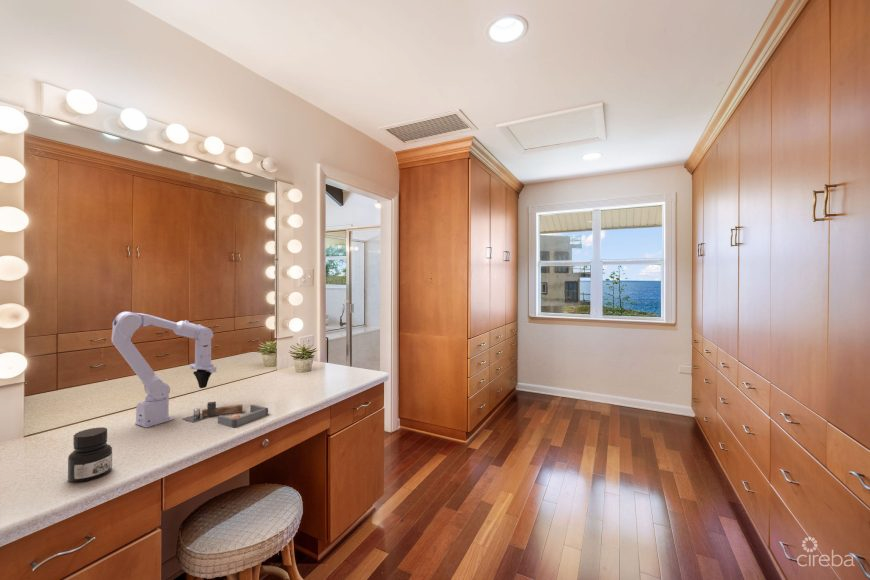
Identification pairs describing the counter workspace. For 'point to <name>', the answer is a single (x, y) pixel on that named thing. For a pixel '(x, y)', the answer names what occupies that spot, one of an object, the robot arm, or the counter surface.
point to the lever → (220, 409)
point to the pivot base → (196, 416)
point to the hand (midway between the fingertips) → (202, 387)
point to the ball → (235, 416)
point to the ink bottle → (89, 455)
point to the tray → (244, 417)
